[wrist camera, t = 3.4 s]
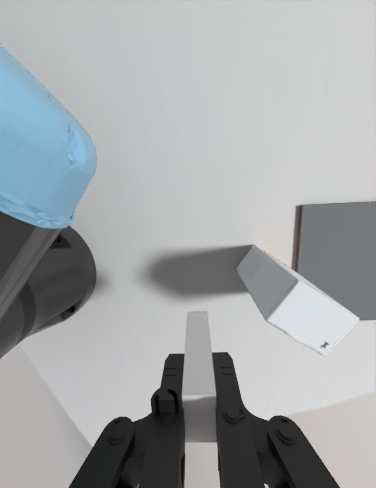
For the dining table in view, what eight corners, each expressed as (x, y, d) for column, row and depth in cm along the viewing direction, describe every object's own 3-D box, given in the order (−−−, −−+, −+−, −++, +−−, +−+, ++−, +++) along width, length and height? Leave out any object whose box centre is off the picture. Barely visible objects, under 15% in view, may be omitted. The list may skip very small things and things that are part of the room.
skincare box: (289, 266, 27) (364, 320, 15) (270, 291, 28) (325, 360, 16) (252, 242, 26) (299, 279, 14) (233, 268, 27) (263, 322, 15)
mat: (291, 319, 28) (293, 321, 28) (300, 205, 25) (302, 205, 24) (402, 317, 28) (406, 319, 27) (428, 198, 24) (433, 198, 24)
